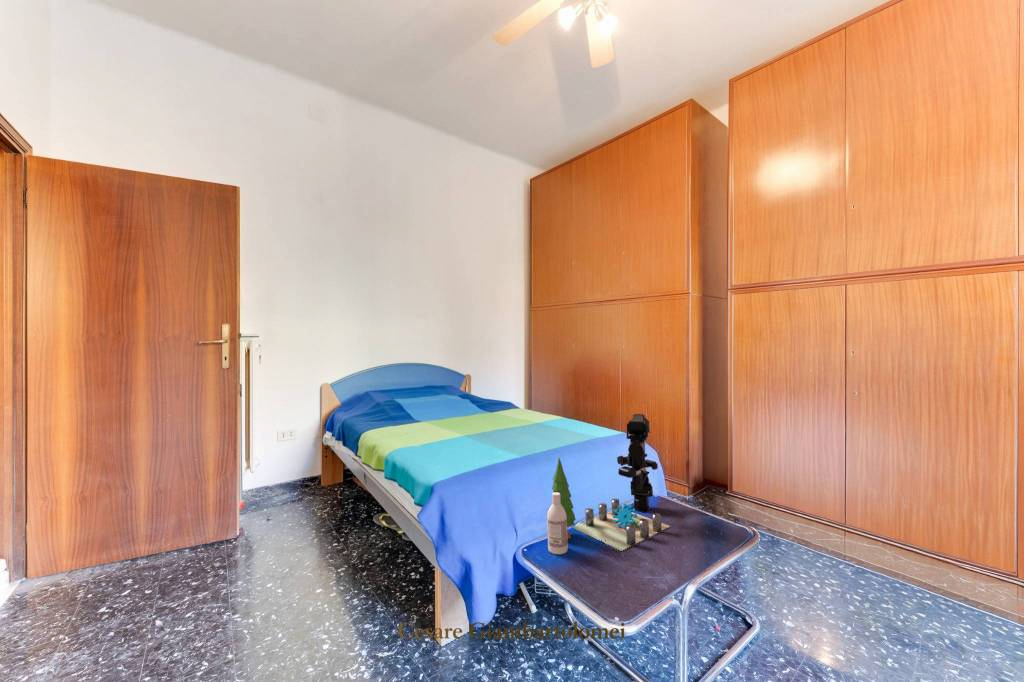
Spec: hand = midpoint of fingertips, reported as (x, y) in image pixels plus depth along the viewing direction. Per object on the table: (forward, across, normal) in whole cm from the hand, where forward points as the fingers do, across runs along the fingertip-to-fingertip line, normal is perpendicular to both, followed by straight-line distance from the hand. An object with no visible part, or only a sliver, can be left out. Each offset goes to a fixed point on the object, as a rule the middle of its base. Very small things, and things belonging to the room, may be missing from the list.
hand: (639, 489), depth 162 cm
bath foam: (+13, +42, -3) cm, 45 cm away
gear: (+13, +9, 0) cm, 16 cm away
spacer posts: (+13, +12, 0) cm, 17 cm away
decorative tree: (+13, +34, -10) cm, 37 cm away
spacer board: (+13, +12, -1) cm, 17 cm away
